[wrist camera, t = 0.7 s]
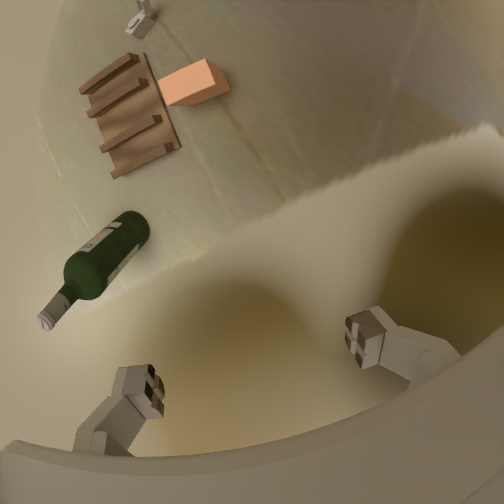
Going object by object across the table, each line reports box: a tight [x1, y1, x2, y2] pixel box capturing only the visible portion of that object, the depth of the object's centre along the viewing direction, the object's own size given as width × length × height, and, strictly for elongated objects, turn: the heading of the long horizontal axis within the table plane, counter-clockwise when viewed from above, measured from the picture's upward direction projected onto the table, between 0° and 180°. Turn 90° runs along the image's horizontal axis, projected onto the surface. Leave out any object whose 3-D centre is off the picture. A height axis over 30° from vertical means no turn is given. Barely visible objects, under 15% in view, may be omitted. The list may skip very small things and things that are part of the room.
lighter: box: [125, 0, 155, 38], centre depth 28 cm, size 7×2×8 cm, turn 141°
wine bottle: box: [37, 211, 149, 331], centre depth 40 cm, size 8×8×30 cm
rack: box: [79, 53, 182, 180], centre depth 39 cm, size 20×14×4 cm
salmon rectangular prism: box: [158, 59, 231, 106], centre depth 34 cm, size 4×7×11 cm, turn 109°
